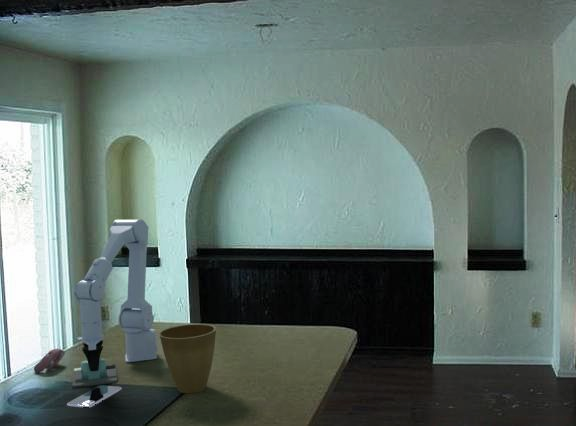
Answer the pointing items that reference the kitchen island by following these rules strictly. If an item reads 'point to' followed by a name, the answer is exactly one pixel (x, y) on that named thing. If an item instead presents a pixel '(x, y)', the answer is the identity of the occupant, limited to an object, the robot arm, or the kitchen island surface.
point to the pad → (109, 378)
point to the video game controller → (49, 360)
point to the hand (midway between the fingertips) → (94, 368)
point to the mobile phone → (94, 396)
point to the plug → (89, 374)
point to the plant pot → (189, 355)
